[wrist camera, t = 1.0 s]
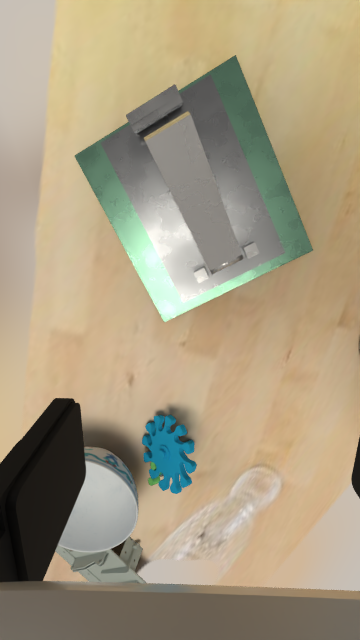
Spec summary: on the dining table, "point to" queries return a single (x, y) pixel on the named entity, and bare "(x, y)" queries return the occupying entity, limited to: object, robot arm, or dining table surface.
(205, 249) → the steel strap
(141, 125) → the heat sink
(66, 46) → the dining table surface
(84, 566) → the metal bracket
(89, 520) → the chinaware
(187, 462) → the gear
